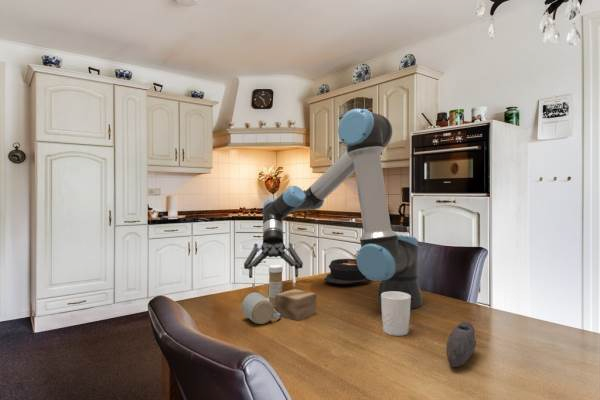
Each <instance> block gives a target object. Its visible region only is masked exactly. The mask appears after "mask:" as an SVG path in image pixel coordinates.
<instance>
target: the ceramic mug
mask: <svg viewBox="0 0 600 400" xmlns="http://www.w3.org/2000/svg"><path fill="white" fill-rule="evenodd" d="M241 311H242V313H243V314H244V316H246V317H247V318H248V319H249V320H250V321H252V322H253V323H255V324H256V325H265V324H267V323H269V322H270V321H271V320H272V319H274V320H279V319H280V318H281V316H280V315H281V314H280V313H278V312H277V311H275V308H274V307H273V306H272V304H271V302H270V301H269V299H267V298H266V297H265V296H264V295H262V294H261V293H259V292H250V293H248V294H247V295H246V296H245V297H244V299H243V300H242V304H241Z"/></svg>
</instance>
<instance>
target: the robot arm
mask: <svg viewBox="0 0 600 400" xmlns="http://www.w3.org/2000/svg"><path fill="white" fill-rule="evenodd" d="M337 127H338V129H337V133H338V136H339V139H340V141H341V142H342V143H343V144H344V145H346V151H345V152H344V153H343V154H342V155H340V157H339V158H338V159H337V160H336V161H335V162H334V163H333V164H332V165H331V166H330V167H328V169H326V171H325V172H324V173H322V175H321V176H320V177H318V178H317V179H316V181H314V182H313V183H312V184H311V185H310V186H309V187H308V188H307V189H306V190H303V189H302V188H301V187H299V186H297V185H292V186H290V187H288V188H287V189H286V190H285V191H284V192H283V193H282V194H280V195H279V196H278V197H277V198H269V199H267V200H266V201H265V202H264V203H263V207H262V244H261V245H259V244H258V243H254V244H253V248H252V250H251V252H250V253H249V255H248V256H247V258H246V260H245V261H244V262H243V263H244V264H243V268H244V270H248V277H249V278H250V279H251V287H252V288H255V284H256V283H255V282H256V281H255V280H256V267H257V266H258V265H259V264H261V262H262V261H263V260H265V259H266V258H267V257H269V258H274V257H275V258H278V257H280V258H281V259H282V260H284V261H285V262H286V264H288V265H289V266H290V267H291V278H292V287H293V288H294V287H296V278H298V277H299V269H302V268H303V261H302V259H301V258H300V256H299V255H298V253H297V251H295V249H294V246H293V243H291V242H290V243H288V244H285V243H284V224H283V220H284V219H285V218H286V217H287V216H289V215H290V214H291V213H292V212H296V211H314V210H318V209H320V208H322V206H324V202H325V199H327V198H328V196H329V195H331V194H332V193H333V192H334V191H335V190H336V189H337V188H338V187H340V186H341V184H343V183H344V182H345V181H346V180H347V179H349V178H350V177H351V176H352V174H355V181H356V187H357V194H358V202H359V207H360V208H359V209H360V214H361V215H360V216H361V222H362V229H363V233H362V235H361V237H360V238H359V242H360V248H359V250H358V252H357V253H356V258H355V259H356V261H357V266H358V268H359V270H360V272H361V273H362V274H363V275H364V276H365V277H366V278H368V279H370V281H373V282H381V283H380V285H379V288H378V290H377V295H376V302H377V303H378V304H379V305H381V294H382V293H383V292H389V291H396V292H403V293H407V294H409V295H410V296H411V303H410V309H417V308H419V307H422V306H423V303H424V301H423V299H424V298H423V295H422V292H421V287H420V284H419V282H418V266H419V265H418V264H419V263H418V262H419V261H418V258H419V257H418V256H419V254H418V253H419V245H418V244H419V243H418V239H417V237H415V236H411V235H410V236H407V235H398V234H397V232H395V231H394V230H393V229H392V227H391V220H390V213H389V207H388V206H389V205H388V198H387V193H386V192H387V191H386V187H385V186H386V185H385V178H384V173H383V172H384V171H383V166H382V158H381V154H382V152H383V151H384V150H385V148H386V147H387V146H388V144H389V143H390V142H391V140H392V136H393V127H392V123H391V122H390V120H389V119H388V118H387V117H385V116H384V115H382V114H379V113H375V112H372V111H370V110H368V109H366V108H352V109H351V110H347V112H346V113H344V114H343V116H342V118H341V119H340V121H339V123H338V126H337ZM260 250H261V253H259V255H258V256H256V255H257V253H258V252H260ZM285 250H286V251H287V252H288V253H289V254H290V255H288V254H287V253H286V251H285ZM255 257H256V258H255Z"/></svg>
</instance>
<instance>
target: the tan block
mask: <svg viewBox="0 0 600 400" xmlns="http://www.w3.org/2000/svg"><path fill="white" fill-rule="evenodd" d="M274 310H275V311H277V312H278V313H280V314H281V315H280V317H283V318H286V319H290V320H294V321H297V322H298V321H301V320H303V319H305V318H308V317H310V316H313V315H315V314H317V294H316V293H314V292H310V291H306V290H300V289H296V288H292V289H290V290H286V291H284V292H283V291H282V293H280V294H277V295H275V307H274Z"/></svg>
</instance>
